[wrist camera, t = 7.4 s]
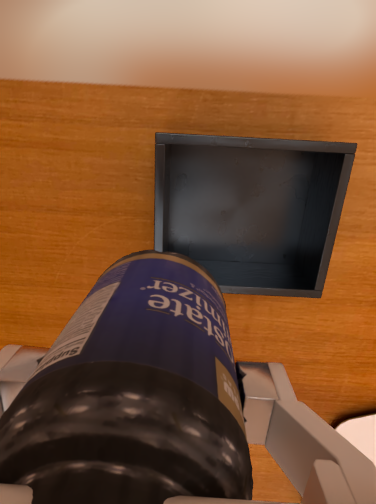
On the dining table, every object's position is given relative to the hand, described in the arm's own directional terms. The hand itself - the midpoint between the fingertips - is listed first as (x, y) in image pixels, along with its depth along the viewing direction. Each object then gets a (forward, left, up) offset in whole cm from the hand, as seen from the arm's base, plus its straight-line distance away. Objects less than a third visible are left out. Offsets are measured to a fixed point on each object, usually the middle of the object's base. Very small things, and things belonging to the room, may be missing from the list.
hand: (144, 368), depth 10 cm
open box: (+1, +6, -24) cm, 24 cm away
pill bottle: (0, 0, -4) cm, 4 cm away
